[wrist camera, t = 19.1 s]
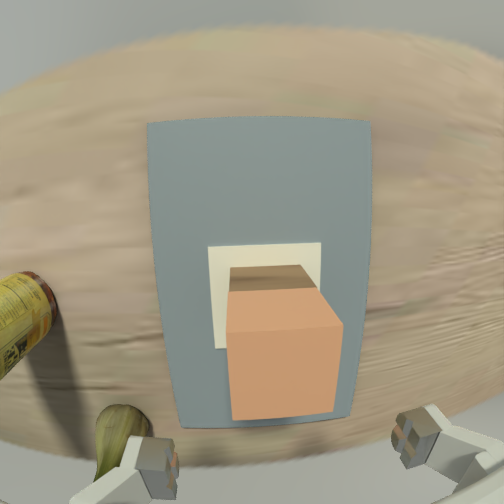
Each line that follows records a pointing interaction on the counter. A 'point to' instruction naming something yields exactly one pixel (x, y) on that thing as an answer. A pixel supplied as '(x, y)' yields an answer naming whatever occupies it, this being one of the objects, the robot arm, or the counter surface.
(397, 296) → the counter surface
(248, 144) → the build board
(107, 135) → the counter surface
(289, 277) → the walnut block
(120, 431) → the fennel bulb
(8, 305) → the sauce bottle
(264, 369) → the terracotta block
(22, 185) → the counter surface
